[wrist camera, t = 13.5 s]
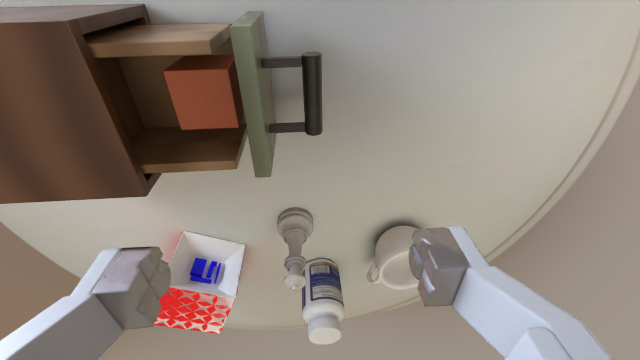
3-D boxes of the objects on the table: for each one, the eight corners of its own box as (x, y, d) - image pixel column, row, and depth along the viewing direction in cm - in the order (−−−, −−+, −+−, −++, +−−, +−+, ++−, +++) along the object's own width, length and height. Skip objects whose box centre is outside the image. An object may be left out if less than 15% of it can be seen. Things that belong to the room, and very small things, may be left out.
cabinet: (144, 4, 23) (66, 20, 15) (186, 137, 30) (146, 196, 22) (-39, 8, 22) (-219, 27, 15) (46, 143, 29) (-46, 206, 21)
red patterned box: (174, 269, 41) (151, 324, 34) (183, 230, 37) (159, 285, 30) (232, 280, 43) (220, 334, 37) (246, 245, 39) (236, 298, 33)
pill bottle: (321, 285, 45) (326, 352, 37) (294, 272, 43) (293, 340, 35) (345, 267, 43) (357, 333, 35) (318, 252, 41) (323, 319, 33)
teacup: (406, 207, 37) (420, 238, 33) (437, 236, 41) (454, 268, 36) (346, 247, 41) (352, 281, 36) (379, 271, 44) (388, 304, 40)
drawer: (316, 9, 23) (324, 23, 17) (319, 130, 29) (325, 174, 23) (98, 15, 22) (19, 32, 16) (147, 137, 28) (103, 185, 22)
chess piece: (318, 226, 38) (324, 295, 30) (287, 237, 39) (285, 307, 31) (303, 202, 36) (305, 271, 27) (271, 214, 36) (264, 285, 28)
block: (182, 55, 23) (162, 70, 20) (238, 54, 24) (227, 68, 20) (196, 108, 26) (180, 130, 22) (247, 106, 26) (239, 127, 23)
